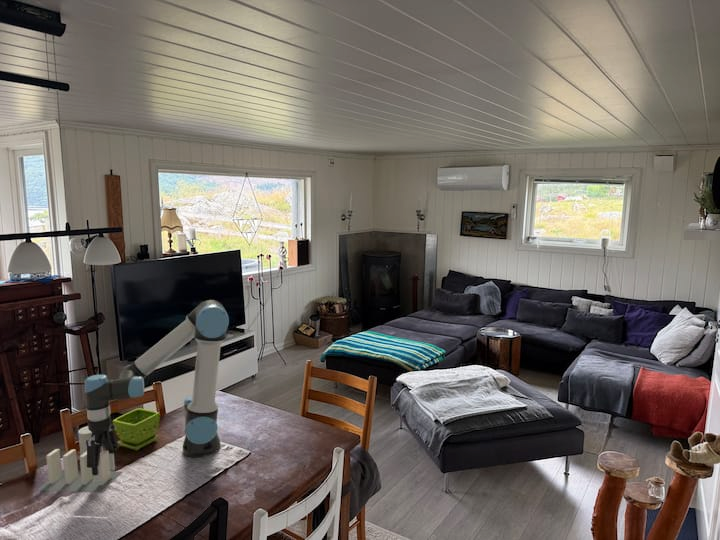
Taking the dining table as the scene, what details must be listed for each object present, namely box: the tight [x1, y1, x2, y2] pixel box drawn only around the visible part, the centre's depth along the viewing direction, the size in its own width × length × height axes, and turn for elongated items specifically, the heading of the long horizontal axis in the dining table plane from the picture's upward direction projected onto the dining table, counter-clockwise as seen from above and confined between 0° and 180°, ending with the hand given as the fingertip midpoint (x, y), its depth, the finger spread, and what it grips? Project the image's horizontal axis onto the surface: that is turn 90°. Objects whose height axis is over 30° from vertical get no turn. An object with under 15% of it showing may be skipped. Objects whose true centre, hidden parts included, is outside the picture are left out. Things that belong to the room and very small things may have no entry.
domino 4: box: [99, 449, 111, 485], centre depth 182 cm, size 2×5×11 cm, turn 175°
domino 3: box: [79, 451, 93, 485], centre depth 183 cm, size 2×5×11 cm, turn 175°
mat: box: [36, 469, 124, 494], centre depth 184 cm, size 25×14×1 cm, turn 85°
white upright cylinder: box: [77, 425, 104, 456], centre depth 202 cm, size 8×8×12 cm
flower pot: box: [112, 407, 161, 451], centre depth 212 cm, size 14×14×13 cm
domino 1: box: [45, 448, 63, 484], centre depth 184 cm, size 2×5×11 cm, turn 175°
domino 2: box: [62, 448, 79, 484], centre depth 184 cm, size 2×5×11 cm, turn 175°
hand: (104, 475), depth 183 cm, fingers open, 8 cm apart
